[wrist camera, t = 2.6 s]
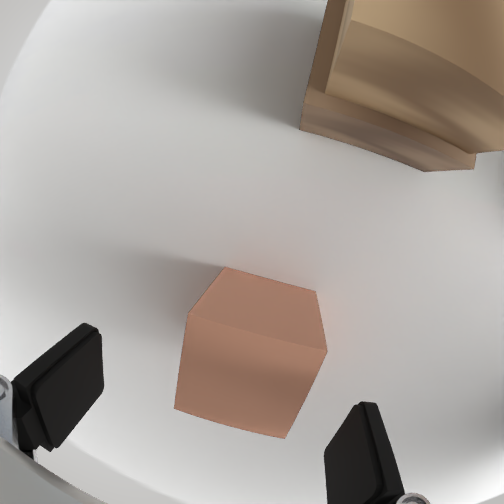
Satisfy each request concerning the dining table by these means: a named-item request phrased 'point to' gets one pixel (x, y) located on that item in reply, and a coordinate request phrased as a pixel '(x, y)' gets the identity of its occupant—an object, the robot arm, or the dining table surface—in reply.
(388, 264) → the dining table surface
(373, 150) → the tower base
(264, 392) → the terracotta block
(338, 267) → the dining table surface
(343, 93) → the block
